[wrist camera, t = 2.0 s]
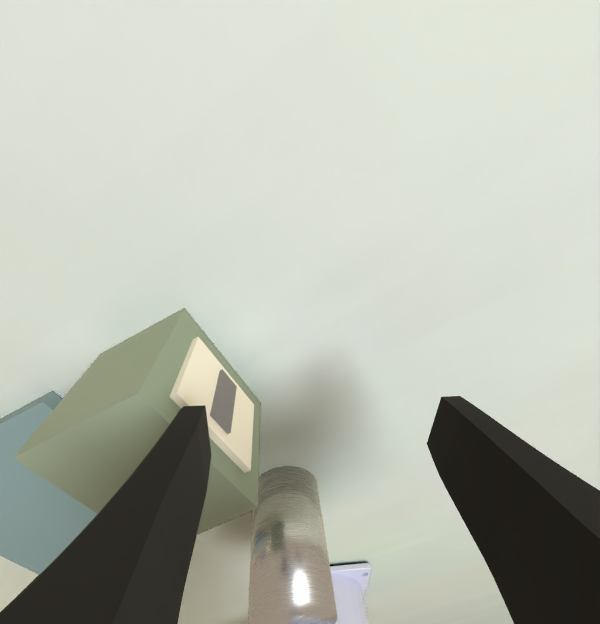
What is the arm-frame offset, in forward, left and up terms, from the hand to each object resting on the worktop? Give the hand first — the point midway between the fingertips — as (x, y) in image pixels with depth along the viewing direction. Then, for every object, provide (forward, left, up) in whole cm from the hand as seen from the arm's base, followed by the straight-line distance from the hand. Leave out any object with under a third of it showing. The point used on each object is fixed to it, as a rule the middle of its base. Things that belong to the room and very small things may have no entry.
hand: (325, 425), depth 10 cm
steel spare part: (-13, +1, -7) cm, 15 cm away
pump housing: (-3, +6, -7) cm, 10 cm away
